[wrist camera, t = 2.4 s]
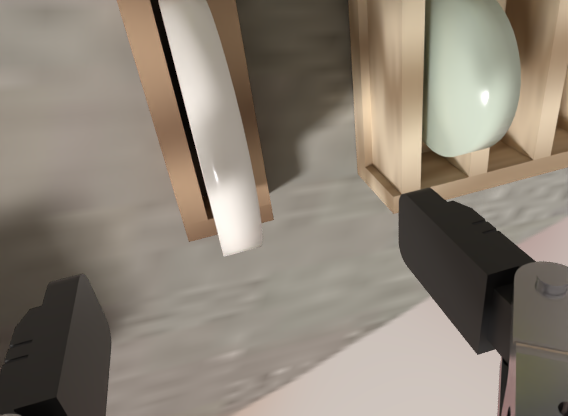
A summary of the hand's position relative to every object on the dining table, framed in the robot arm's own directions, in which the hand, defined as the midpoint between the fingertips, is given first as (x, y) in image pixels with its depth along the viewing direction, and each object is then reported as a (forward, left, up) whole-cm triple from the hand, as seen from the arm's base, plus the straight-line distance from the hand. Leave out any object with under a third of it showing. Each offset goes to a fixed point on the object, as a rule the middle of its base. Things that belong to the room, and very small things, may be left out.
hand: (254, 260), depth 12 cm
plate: (0, 0, -14) cm, 14 cm away
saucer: (0, +11, -12) cm, 16 cm away
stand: (0, 0, -14) cm, 14 cm away
